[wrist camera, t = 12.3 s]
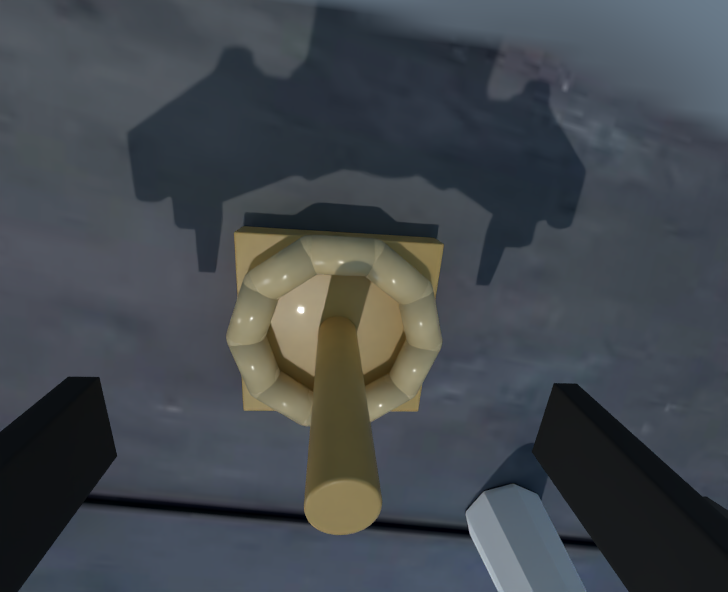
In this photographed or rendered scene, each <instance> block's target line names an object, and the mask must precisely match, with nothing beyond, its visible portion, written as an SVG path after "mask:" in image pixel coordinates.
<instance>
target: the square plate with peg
mask: <svg viewBox="0 0 728 592" xmlns="http://www.w3.org/2000/svg"><path fill="white" fill-rule="evenodd" d="M311 234H313V235H330V236H347V237H364V238H376V239H379V240H381V241H383V242H384V243H386V244H387V245H388V246H389V247H390V248H392V249H393V250H394V251H395V252H396V253H397V254H399V255H400V256H401V257H402V258H403V259H405V260H406V261H407V262H408V263H409V264H410V265H412V266H413V267H414V268H415V269H416V270H418V271H419V272H420V273H421V274H422V275H423V276H425V277H426V278H427V279H428V280H429V281H430V283H431V284H432V287H433V291H434V296H435V299H436V292H437V286H438V280H439V273H440V267H441V260H442V254H443V247H444V244H443V243H441V242H440V241H438V240H437V239H435V238H429V237H413V236H396V235H380V234H363V233H347V232H330V231H314V230H297V229H281V228H264V227H248V226H243V227H241V228H240V229H238V230H237V231H235V232H234V240H235V259H236V278H237V297H238V295H239V291H240V288H241V285H242V282H243V279H244V277H245V275H246V274H247V273H248V272H249V271H250V270H252V269H253V268H255V267H256V266H258V265H259V264H261V263H262V262H264V261H265V260H267V259H268V258H270V257H272V256H273V255H275V254H276V253H278V252H279V251H281V250H282V249H284V248H285V247H287V246H289V245H290V244H292V243H293V242H295V241H296V240H298V239H299V238H301V237H303V236H305V235H311ZM266 336H267V339H268V341H269V344H270V347H271V349H272V352H273V354H274V357H275V359H276V362H277V365H278V367H279V370H280V371H282V372H283V373H285V374H287V375H288V376H290V377H291V378H293V379H295V380H296V381H298V382H299V383H301V384H302V385H304V386H306V387H307V388H309V389H310V390H312V391H313V401H312V413H311V426H310V438H309V450H308V462H307V475H306V487H305V499H304V512H305V515H306V517H307V519H308V521H309V522H310V524H311V525H312V526H314V527H315V528H316V529H318V530H320V531H322V532H325V533H328V534H334V535H346V534H352V533H356V532H358V531H361V530H363V529H365V528H366V527H368V526H369V525H371V524H372V523H373V522H374V521H375V520H376V518H377V517H378V515H379V513H380V511H381V507H382V496H381V490H380V483H379V476H378V470H377V463H376V457H375V450H374V444H373V437H372V430H371V424H370V417H369V411H368V404H367V397H366V391H365V386H366V385H368V384H370V383H371V382H373V381H375V380H377V379H378V378H380V377H382V376H384V375H385V374H387V373H389V372H390V371H391V369H392V367H393V364H394V362H395V360H396V358H397V356H398V354H399V352H400V350H401V348H402V346H403V344H404V342H405V340H406V336H405V331H404V327H403V322H402V318H401V313H400V309H399V304H398V302H397V301H395V300H394V299H393V298H391V297H390V296H389V295H388V294H386V293H385V292H384V291H383V290H381V289H380V288H379V287H378V286H376V285H375V284H374V283H373V282H371V281H370V280H369V279H367V278H366V277H364V276H343V275H322V274H317V275H316V276H314V277H312V278H311V279H309V280H308V281H306V282H304V283H303V284H301V285H300V286H298V287H297V288H295V289H293V290H292V291H290V292H289V293H287V294H285V295H284V296H282V297H281V298H279V300H278V303H277V306H276V309H275V312H274V315H273V317H272V320H271V323H270V326H269V329H268V332H267V334H266ZM421 389H422V385H421V387H420V389H419V391H418V393H417V394H416V396H415V397H414V398H412V399H411V400H409V401H408V402H406V403H404V404H402V405H400V406H399V407H397V408H395V409H393V410H391V411H418V408H419V401H420V395H421ZM242 392H243V409H244V410H245V411H276V410H274V409H272V408H271V407H269V406H267V405H266V404H264V403H262V402H260V401H259V400H257V399H255V398H254V397H253V396H251V394H250V393H249V391H248V389H247V387H246V385H245V382H244V380H243V378H242Z"/></svg>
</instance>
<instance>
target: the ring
mask: <svg viewBox="0 0 728 592" xmlns="http://www.w3.org/2000/svg"><path fill="white" fill-rule="evenodd" d="M317 274H322V275H343V276H364V277H366V278H367V279H369V280H370V281H371V282H373V283H374V284H375V285H376V286H378V287H379V288H380V289H381V290H383V291H384V292H385V293H386V294H388V295H389V296H390V297H391V298H393V299H394V300H395V301H397V302H398V304H399V309H400V313H401V318H402V322H403V327H404V331H405V336H406V340H405V342H404V344H403V346H402V348H401V350H400V352H399V354H398V356H397V358H396V360H395V362H394V364H393V367H392V369H391V371H390V372H389V373H387V374H385V375H384V376H382V377H380V378H378V379H377V380H375V381H373V382H371V383H370V384H368V385H366V386H365V391H366V397H367V404H368V411H369V417H370V422H372V421H374V420H375V419H377V418H379V417H381V416H383V415H384V414H386V413H388V412H390V411H391V410H393V409H395V408H397V407H399V406H400V405H402V404H404V403H406V402H408V401H409V400H411V399H412V398H414V397H415V396H416V394H417V393H418V391H419V389H420V387H421V385H422V383H423V381H424V380H425V378H426V376H427V374H428V372H429V370H430V368H431V366H432V364H433V363H434V361H435V359H436V357H437V355H438V353H439V351H440V349H441V347H442V335H441V330H440V324H439V319H438V313H437V308H436V302H435V296H434V291H433V287H432V284H431V283H430V281H429V280H428V279H427V278H426V277H425V276H423V275H422V274H421V273H420V272H419V271H418V270H416V269H415V268H414V267H413V266H412V265H410V264H409V263H408V262H407V261H406V260H405V259H403V258H402V257H401V256H400V255H399V254H397V253H396V252H395V251H394V250H393V249H392V248H390V247H389V246H388V245H387V244H386V243H384V242H383V241H381V240H379V239H376V238H364V237H347V236H330V235H313V234H311V235H305V236H303V237H301V238H299V239H298V240H296V241H295V242H293V243H292V244H290V245H289V246H287V247H285V248H284V249H282V250H281V251H279V252H278V253H276V254H275V255H273V256H272V257H270V258H268V259H267V260H265V261H264V262H262V263H261V264H259V265H258V266H256V267H255V268H253V269H252V270H250V271H249V272H248V273H247V274H246V275H245V277H244V279H243V282H242V285H241V288H240V291H239V295H238V298H237V301H236V304H235V308H234V311H233V314H232V317H231V320H230V324H229V327H228V330H227V334H226V340H227V344H228V346H229V348H230V351H231V353H232V355H233V357H234V360H235V362H236V364H237V366H238V369H239V371H240V373H241V376H242V378H243V380H244V382H245V385H246V387H247V389H248V391H249V393H250V394H251V396H253V397H254V398H255V399H257V400H259V401H260V402H262V403H264V404H266V405H267V406H269V407H271V408H272V409H274V410H276V411H278V412H279V413H281V414H283V415H284V416H286V417H288V418H289V419H291V420H293V421H295V422H296V423H298V424H300V425H302V426H311V413H312V401H313V391H312V390H310V389H309V388H307V387H306V386H304V385H302V384H301V383H299V382H298V381H296V380H295V379H293V378H291V377H290V376H288V375H287V374H285V373H283V372H282V371H280V370H279V367H278V365H277V362H276V359H275V357H274V354H273V352H272V349H271V347H270V344H269V341H268V339H267V336H266V334H267V332H268V329H269V326H270V323H271V320H272V317H273V315H274V312H275V309H276V306H277V303H278V300H279V298H281V297H282V296H284V295H285V294H287V293H289V292H290V291H292V290H293V289H295V288H297V287H298V286H300V285H301V284H303V283H304V282H306V281H308V280H309V279H311V278H312V277H314V276H316V275H317Z"/></svg>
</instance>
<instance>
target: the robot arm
mask: <svg viewBox="0 0 728 592" xmlns="http://www.w3.org/2000/svg"><path fill="white" fill-rule="evenodd" d="M532 453H533V454H534V456H535V457H536V459H537V460H538V462H539V463H540V464H541V466H542V467H543V469H544V470H545V472H546V473H547V474H548V476H549V477H550V479H551V480H552V482H553V483H554V485H555V486H556V487H557V489H558V490H559V492H560V493H561V495H562V496H563V498H564V499H565V500H566V502H567V503H568V505H569V506H570V508H571V509H572V511H573V512H574V513H575V515H576V516H577V518H578V519H579V521H580V522H581V524H582V525H583V526H584V528H585V529H586V531H587V532H588V534H589V535H590V536H591V538H592V539H593V541H594V542H595V544H596V545H597V547H598V548H599V549H600V551H601V552H602V554H603V555H604V557H605V558H606V560H607V561H608V562H609V564H610V565H611V567H612V568H613V570H614V571H615V573H616V574H617V575H618V577H619V578H620V580H621V581H622V583H623V584H624V585H625V587H626V588H627V590H628V591H629V592H728V510H726V509H725V508H723V507H722V506H720V505H719V504H717V503H716V502H714V501H713V500H711V499H709V498H708V497H702V496H701V495H700V494H699V493H698V492H697V491H695V490H694V489H693V488H692V487H691V486H690V485H689V484H688V483H687V482H685V481H684V480H683V479H682V478H681V477H680V476H679V475H678V474H677V473H675V472H674V471H673V470H672V469H671V468H670V467H669V466H668V465H667V464H665V463H664V462H663V461H662V460H661V459H660V458H659V457H658V456H657V455H655V454H654V453H653V452H652V451H651V450H650V449H649V448H648V447H647V446H645V445H644V444H643V443H642V442H641V441H640V440H639V439H638V438H637V437H635V436H634V435H633V434H632V433H631V432H630V431H629V430H628V429H627V428H625V427H624V426H623V425H622V424H621V423H620V422H619V421H618V420H617V419H615V418H614V417H613V416H612V415H611V414H610V413H609V412H608V411H607V410H605V409H604V408H603V407H602V406H601V405H600V404H599V403H598V402H596V401H595V400H594V399H593V398H592V397H591V396H590V395H589V394H588V393H586V392H585V391H584V390H583V389H582V388H581V387H580V386H579V385H578V384H566V383H554V384H553V388H552V391H551V394H550V397H549V400H548V403H547V406H546V409H545V413H544V416H543V419H542V422H541V425H540V428H539V431H538V435H537V438H536V441H535V444H534V447H533V450H532ZM116 457H117V453H116V449H115V444H114V440H113V436H112V431H111V427H110V422H109V418H108V414H107V409H106V405H105V400H104V396H103V391H102V387H101V383H100V378H99V377H67V378H66V379H65V380H64V381H62V382H61V383H60V384H59V385H58V386H56V387H55V388H54V389H53V390H51V391H50V392H49V393H48V394H46V395H45V396H44V397H43V398H42V399H40V400H39V401H38V402H37V403H35V404H34V405H33V406H32V407H30V408H29V409H28V410H27V411H26V412H24V413H23V414H22V415H21V416H19V417H18V418H17V419H16V420H14V421H13V422H12V423H11V424H10V425H8V426H7V427H6V428H5V429H3V430H2V431H1V432H0V592H18V591H19V589H20V588H21V587H22V585H23V584H24V583H25V581H26V580H27V578H28V577H29V576H30V574H31V573H32V572H33V570H34V569H35V568H36V566H37V565H38V563H39V562H40V561H41V559H42V558H43V557H44V555H45V554H46V552H47V551H48V550H49V548H50V547H51V546H52V544H53V543H54V542H55V540H56V539H57V537H58V536H59V535H60V533H61V532H62V531H63V529H64V528H65V527H66V525H67V524H68V522H69V521H70V520H71V518H72V517H73V516H74V514H75V513H76V511H77V510H78V509H79V507H80V506H81V505H82V503H83V502H84V501H85V499H86V498H87V496H88V495H89V494H90V492H91V491H92V490H93V488H94V487H95V486H96V484H97V483H98V481H99V480H100V479H101V477H102V476H103V475H104V473H105V472H106V470H107V469H108V468H109V466H110V465H111V464H112V462H113V461H114V460H115V458H116Z"/></svg>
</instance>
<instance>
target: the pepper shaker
mask: <svg viewBox="0 0 728 592" xmlns="http://www.w3.org/2000/svg"><path fill="white" fill-rule="evenodd" d="M466 518H467V523H468V528H469V533H470V535H471V537H472V539H473V541H474V544H475V546H476V548H477V550H478V552H479V554H480V556H481V558H482V560H483V562H484V564H485V566H486V568H487V570H488V572H489V574H490V576H491V578H492V580H493V582H494V584H495V586H496V588H497V590H498V592H587V591H586V589H585V587H584V585H583V583H582V581H581V579H580V577H579V575H578V573H577V571H576V569H575V567H574V565H573V563H572V561H571V559H570V557H569V555H568V553H567V551H566V549H565V547H564V545H563V543H562V541H561V539H560V537H559V535H558V533H557V531H556V529H555V527H554V526H553V524H552V522H551V520H550V518H549V516H548V514H547V512H546V510H545V508H544V506H543V504H542V502H541V500H540V498H539V496H538V494H536V493H534V492H532V491H529V490H527V489H525V488H522V487H520V486H518V485H515V484H509V485H505V486H502V487H498V488H494V489H490V490H487V491H484V492H483V493H482V494H481V495H480V496H479V497H478V498H477V500H476V501H475V502H474V503H473V504H472V505H471V506H470V507H469V509H468V510H467V511H466Z"/></svg>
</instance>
